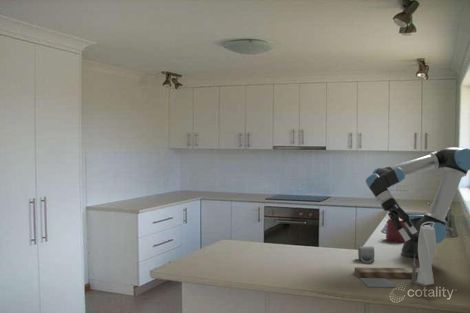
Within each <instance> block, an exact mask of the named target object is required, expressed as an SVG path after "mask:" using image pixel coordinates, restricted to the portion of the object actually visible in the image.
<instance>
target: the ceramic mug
mask: <svg viewBox="0 0 470 313" xmlns="http://www.w3.org/2000/svg"><path fill="white" fill-rule="evenodd" d="M357 255H358V256H357V257H358V260H360V261H361V262H362V263H364V264H371V263H372V262H374V261H375V247H374V246H359V247H358V250H357Z"/></svg>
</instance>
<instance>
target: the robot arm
mask: <svg viewBox="0 0 470 313" xmlns="http://www.w3.org/2000/svg"><path fill="white" fill-rule="evenodd" d="M430 169H433V170H437V169H444V175H443V176H442V179H441V181H440V184H439V187H437V188H438V189H437V191H436V194H435V196H434V199H433V201H432V204H431V206H430V208H429V210H428V212H425V214H408V213H407V212H405V210H404V209H402V208H401V206H400V205H399V204H398V202H397V201H396V199H395V197H394V195H393V194H392V193H391V191H390V190H389V188H391V187H393V186H395V185H397V184H399V183H401V182H403V181H404V180H405V179H406V177H407V176H410V175H413V174H416V173H421V172H425V171H428V170H430ZM468 171H470V148H466V147H445V148H442V149H438V150H436V151H432V152H430V153H428V155H425V156H421V157H418V158H414V159H410V160H408V161H404V162H401V163H397V164H393V165H389V166H386V167H382V168H381V167H378V168H375V169H374V170H373V171H372V174H371V175H369V176H367V178H366V179H365V184H366V186H367V187H368V189H369V190H370V191H371V193H372V194H373V195H374V197H375V199H376V201H377V202H378V203H379V205H380V206H381V208H382V210H384V211H385V212H387V211H388V213H387V215H388V218H389V217H390V219H391V221H392V223H393V225H394V227H395V229H396V230H398V231H399V232H400V234H401V235H402V237H403V238H404V240H405V242H403V244H402V245H403V246H402V248H401V252H400V253H401V255H402V256H405V257H409V258H413V259H414V255H415V259H419V257H418V238H419V232H420V227H421V225H422V224H423V223H425V222H434V223H435V224H434V223H425V224H424V225H429V226H431V227H432V226H433V224H434V227H433V228H435V237H436V245H437V244H440V243H442V242H443V241H444V240H445V239H446V237H447V236H448V235H447V234H448V232H447V227H446V225H447V223H448V222H447V221H446V217H447V215H448V212H449V210H450V207H451V204H452V203H453V199H454V197H455V194H456V193H457V190H458V188H459V185H460V184H461V180H462V178H464V177H466V176H467V174H468ZM399 218H400V219H402V220H403V223H404V222H405V225H406V231H405V230H404V228H403V227H402V226H401V223H400V221H399ZM424 225H423V227H424Z"/></svg>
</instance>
